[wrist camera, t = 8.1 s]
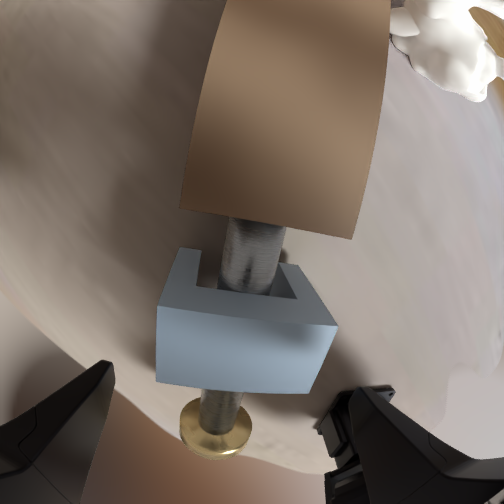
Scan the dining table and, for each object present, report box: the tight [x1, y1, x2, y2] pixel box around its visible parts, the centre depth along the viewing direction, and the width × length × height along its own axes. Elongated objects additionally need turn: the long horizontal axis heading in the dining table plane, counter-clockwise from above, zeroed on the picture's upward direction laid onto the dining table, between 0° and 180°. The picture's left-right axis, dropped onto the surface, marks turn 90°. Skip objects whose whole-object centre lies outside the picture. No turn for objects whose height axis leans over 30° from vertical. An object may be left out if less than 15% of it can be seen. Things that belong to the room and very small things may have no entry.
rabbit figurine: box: [390, 0, 504, 102], centre depth 8 cm, size 12×8×10 cm, turn 59°
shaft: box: [179, 217, 286, 460], centre depth 14 cm, size 20×5×5 cm, turn 169°
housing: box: [179, 0, 391, 240], centre depth 10 cm, size 16×6×7 cm, turn 169°
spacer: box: [156, 247, 338, 394], centre depth 14 cm, size 4×7×6 cm, turn 78°
